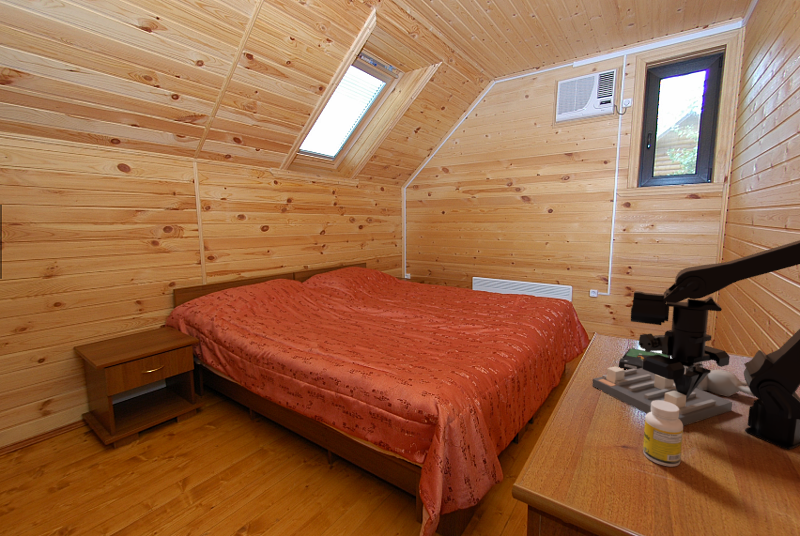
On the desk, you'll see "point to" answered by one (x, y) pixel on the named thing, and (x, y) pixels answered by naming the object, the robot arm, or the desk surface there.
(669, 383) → the tab middle
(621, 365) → the disk drive
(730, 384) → the bunny figurine
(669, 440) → the supplement bottle
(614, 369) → the tab far
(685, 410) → the switch panel
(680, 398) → the tab near
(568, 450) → the desk surface
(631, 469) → the desk surface
